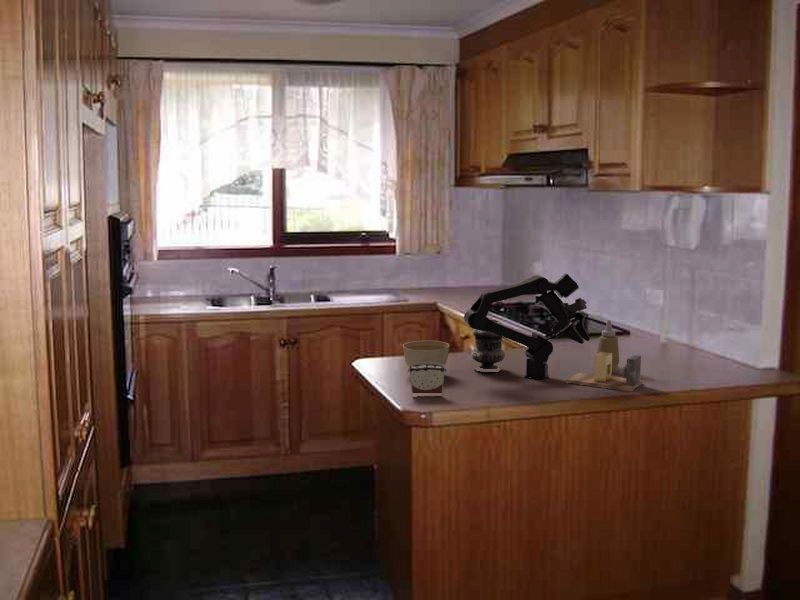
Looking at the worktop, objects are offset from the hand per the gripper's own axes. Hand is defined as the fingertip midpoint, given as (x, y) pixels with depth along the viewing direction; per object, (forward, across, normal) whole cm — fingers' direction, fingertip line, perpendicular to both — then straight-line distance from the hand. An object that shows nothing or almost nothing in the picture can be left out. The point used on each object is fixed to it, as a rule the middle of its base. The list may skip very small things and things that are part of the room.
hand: (586, 341), depth 290 cm
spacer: (+13, 0, +4) cm, 14 cm away
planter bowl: (-26, -20, +46) cm, 56 cm away
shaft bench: (+14, 0, +5) cm, 15 cm away
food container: (-17, -42, +36) cm, 58 cm away
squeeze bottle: (+11, +18, +8) cm, 23 cm away
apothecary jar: (-15, -2, +35) cm, 38 cm away
